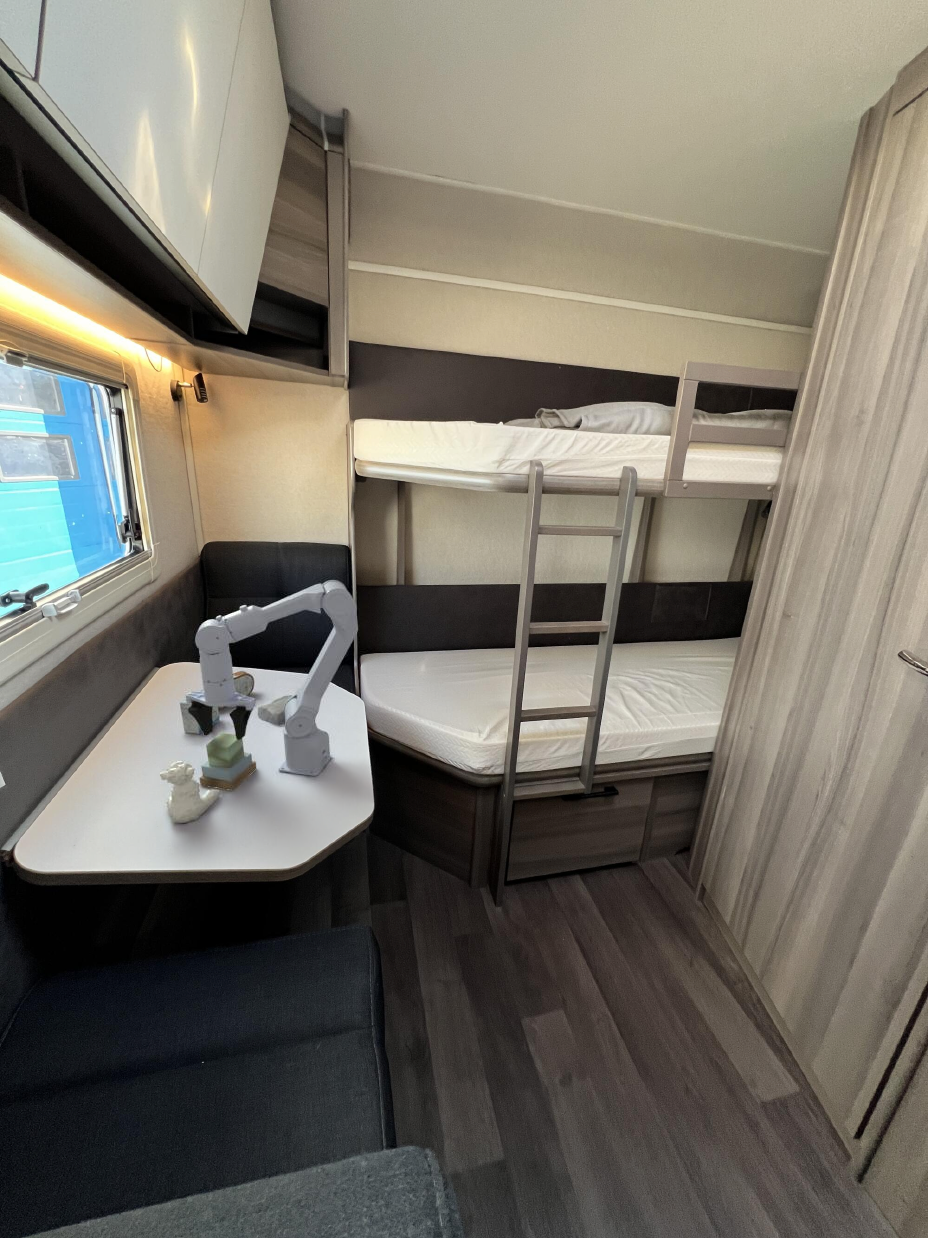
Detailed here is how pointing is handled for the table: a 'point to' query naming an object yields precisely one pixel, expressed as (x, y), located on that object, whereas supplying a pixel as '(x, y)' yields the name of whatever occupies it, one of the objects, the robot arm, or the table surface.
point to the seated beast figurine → (186, 793)
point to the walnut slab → (227, 784)
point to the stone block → (274, 711)
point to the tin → (242, 684)
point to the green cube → (225, 750)
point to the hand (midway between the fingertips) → (224, 735)
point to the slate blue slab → (227, 769)
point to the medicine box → (190, 721)
